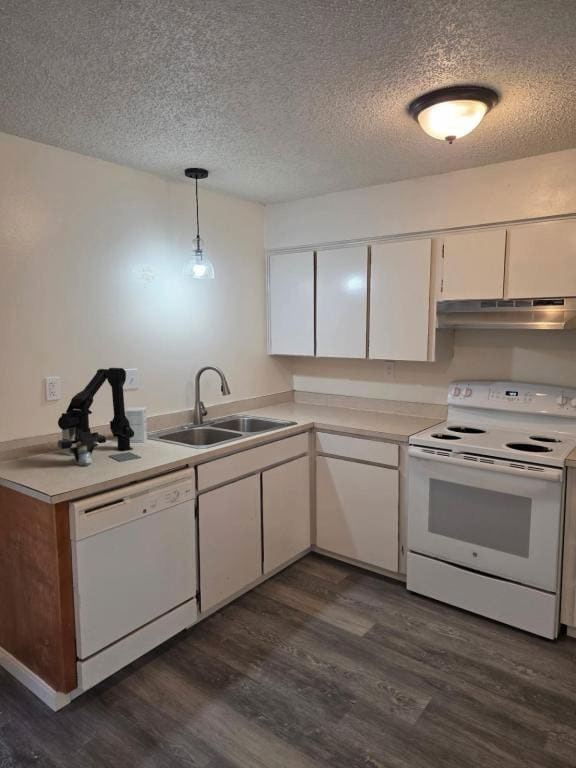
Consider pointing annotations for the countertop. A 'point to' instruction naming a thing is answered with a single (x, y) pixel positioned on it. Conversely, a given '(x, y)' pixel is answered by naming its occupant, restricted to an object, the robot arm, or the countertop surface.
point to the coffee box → (70, 436)
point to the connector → (84, 458)
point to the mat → (124, 456)
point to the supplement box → (137, 423)
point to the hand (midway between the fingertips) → (83, 460)
